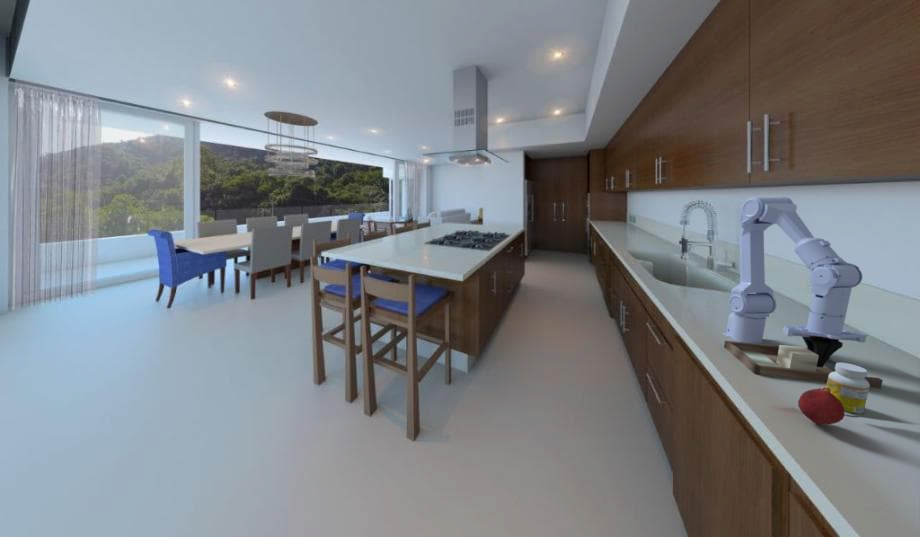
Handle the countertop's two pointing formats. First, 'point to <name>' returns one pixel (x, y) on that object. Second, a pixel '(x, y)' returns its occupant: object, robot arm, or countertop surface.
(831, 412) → the red oval lump
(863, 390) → the supplement bottle
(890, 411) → the countertop surface
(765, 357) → the wooden tray
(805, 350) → the cream cube
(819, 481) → the countertop surface
